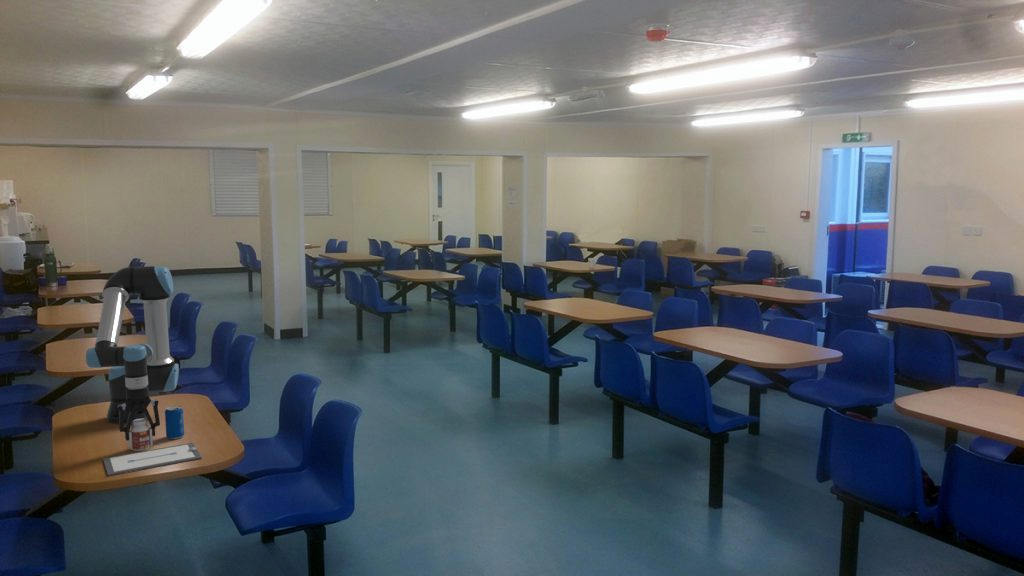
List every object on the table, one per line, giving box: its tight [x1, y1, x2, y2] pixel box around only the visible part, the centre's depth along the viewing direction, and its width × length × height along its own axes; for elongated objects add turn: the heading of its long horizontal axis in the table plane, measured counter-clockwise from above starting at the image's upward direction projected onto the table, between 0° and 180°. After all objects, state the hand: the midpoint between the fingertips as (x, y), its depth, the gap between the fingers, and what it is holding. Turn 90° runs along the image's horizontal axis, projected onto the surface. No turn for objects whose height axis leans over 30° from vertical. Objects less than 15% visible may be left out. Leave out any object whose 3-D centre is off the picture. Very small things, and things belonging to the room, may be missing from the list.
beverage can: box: [164, 405, 185, 440], centre depth 289 cm, size 6×6×12 cm
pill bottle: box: [130, 418, 151, 452], centre depth 276 cm, size 6×6×11 cm
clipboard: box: [102, 442, 203, 477], centre depth 266 cm, size 18×30×1 cm, turn 124°
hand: (141, 446), depth 276 cm, fingers closed on pill bottle, 6 cm apart
